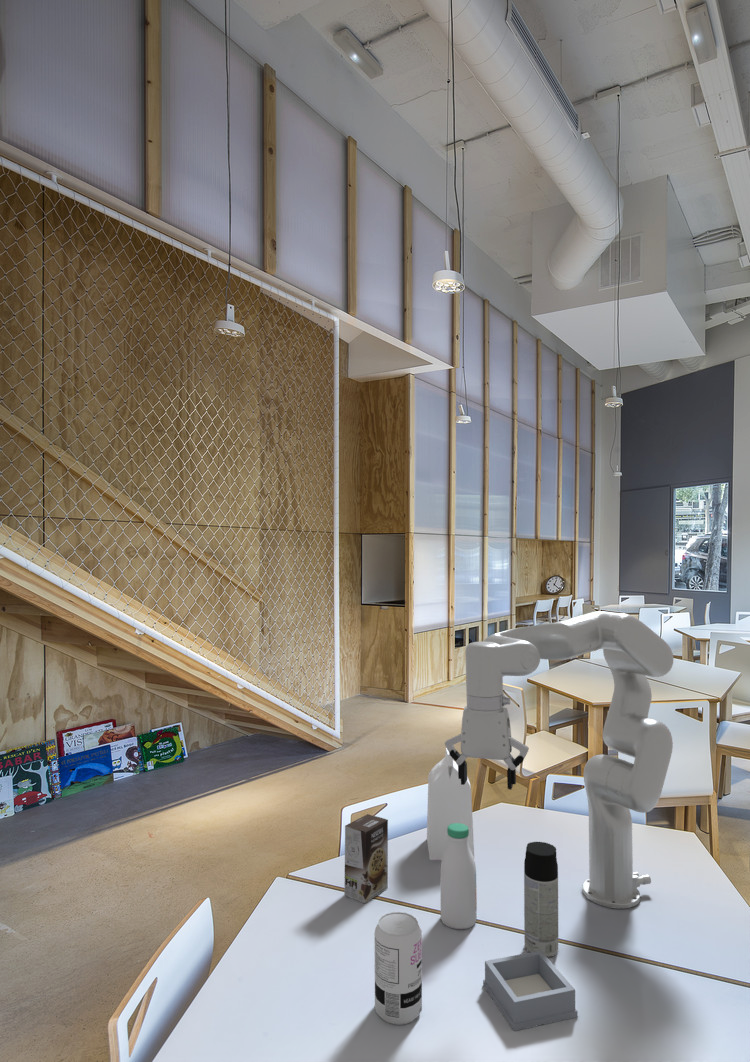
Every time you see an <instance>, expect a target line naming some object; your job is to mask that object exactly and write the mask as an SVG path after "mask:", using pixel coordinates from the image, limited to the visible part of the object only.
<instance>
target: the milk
mask: <svg viewBox="0 0 750 1062" xmlns="http://www.w3.org/2000/svg"><path fill="white" fill-rule="evenodd" d="M444 751H445V752H444V753H445V754H444V757H443V758H442V759H441V760H440V761H438V762H437V763H436V764H435V765H434V766H433V767H432V768H431V770H430V771H429V773H428V777H427V782H428V783H427V785H428V786H427V812H426V813H427V816H426V817H427V820H426V842H427V851H428V856H429V860H430V861H442V857H443V854H444V852H445V850H446V848H447V845H448V840H449V838H448V836H447V835H448V833H447V828H448V826H449V825H450V824H453V823H461V824H464V825H466V826H468V828H469V835H468V836H469V838H468V844H469V848H470V850H471V853H472V855H473V857H474V858H475V843H474V842H475V840H474V825H473V824H474V821H473V800H472V788H471V786H472V785H471V782H470V779H469V775H467V781H466V783H465V784H464V785H461V779H459V778H458V765H457V764H456V761H455V760H454V759H453V758H452V757H451V756H450V754H449V751H448V750H447V748H446V747H445V750H444Z"/></svg>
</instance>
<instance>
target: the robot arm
mask: <svg viewBox="0 0 750 1062" xmlns="http://www.w3.org/2000/svg"><path fill="white" fill-rule="evenodd" d="M598 650H602V651H603V652H602V653H603V657H604V659H605V662H606V664H607V665H608V668H609V670H610V672H611V675H612V679H613V685H614V686H613V687H614V688H613V693H612V696H611V697H612V698H611V702H610V704H609V707H608V708H609V709H608V712H607V714H606V718H605V722H604V726H603V729H602V740H603V743H604V744H605V745H606V746H607V748H609V749H611V750H613V751H615V752H617V753H620V754H623V755H626V756H628V757H632V758H634V761H633V763H632V762H630V761H627V760H625V759H622V758H619V757H616V756H612V755H610V754H603V753H602V754H596V755H593V756H592V757H590V758H589V759H588V760H587V762H586V763H585V765H584V769H583V782H584V787H585V792H586V797H587V805H588V806H587V808H588V866H589V868H588V871H589V873H588V874H589V876H588V878H587V879H586V880H584V882H583V883H582V892H583V895H584V896H585V897H586V898H587V899H588V900H590V901H591V902H593V903H595V904H597V905H600V906H603V907H606V908H612V909H629V908H633V907H636V906H637V905H638V904H639V903H640V901H641V893H640V891H639V889H638V888H640V886H642V885H643V886H644V885H645V886H646V885H649V884H650V885H651V883H652V879H651V876H650V875H649V874H643V875H639V872H638V871H633V870H634V869H633V867H634V865H633V862H634V861H633V860H634V859H633V856H634V855H633V819H632V818H633V817H632V814H631V810H632V811H634V812H637V813H642V814H643V813H645V814H646V813H649V812H651V811H652V810H653V809H655V807H657V805H658V803H659V800H660V798H661V796H662V795H661V794H662V791H663V788H664V784H665V780H666V776H667V773H668V770H669V766H670V762H671V757H672V754H673V748H674V747H673V744H674V742H673V736H672V733H671V730H670V729H669V728H668V726H667V725H666V724H665V723H663V722H662V721H660V720H658V719H654V718H651V717H649V711H650V708H651V702H652V699H653V698H652V697H653V696H652V690H651V689H652V688H651V686H650V683H649V680H648V678H647V676H648V677H652V678H660V677H663V676H666V675H667V674H668V673H670V671H671V669H672V668H673V664H674V653H673V651H672V648H671V647H670V645H669V644H668V643H667V642H666V641H665V640H664V639H663V638H662V637H661V636H659V634H658V633H656V632H655V631H653V630H652V629H651V628H650V627H649V626H648V625H646V624H645V623H644V622H642V621H641V620H639V619H638V618H637V617H635V616H633V615H631V614H628V613H620V612H614V611H603V610H602V611H601V610H597V611H590V612H587V613H584V614H581V615H577V616H574V617H569V618H567V619H563V620H560V621H556V622H548V623H542V624H541V623H540V624H536V625H534V624H533V625H528V626H522V627H517V628H516V627H515V628H511V629H507V630H503V631H500V632H496V633H493V634H491V635H489V636H487V637H485V638H484V639H483V641H474V642H470V643H468V644H467V645H466V647H465V681H466V685H465V686H466V687H465V688H466V705H465V706H464V708H463V711H462V718H461V719H462V720H461V729H460V734H458V735H455V736H453V737H451V738H449V739H447V740H445V742H444V746H445V749H446V748H447V750H448V751H449V754H450V756H451V757H452V758H453V760H454V761H455V762H456V764H457V765H458V778H459V779H461V785H464V784H465V783H466V781H467V776H468V762H467V761H466V759H467V758H471V759H473V758H474V759H484V760H485V759H486V760H494V761H495V760H496V761H497V760H498V761H503V762H504V763H505V765H506V766H507V767H508V768H507V769H506V777H507V779H506V780H507V782H506V783H507V789H508V790H510V791H511V790H513V786H514V785H516V784H517V774H516V773H517V768H518V766H520V765H521V764H522V763H523V762H524V760H525V758H526V756H527V755H528V752H529V747H528V746H527V745H525V744H524V743H522V742H521V741H519V740H517V739H516V738H513V737H512V728H511V720H510V713H509V710H508V708H507V707H505V706H507V705H508V706H509V705H511V697H507V696H505V695H504V681H503V680H504V679H503V677H505V676H506V677H508V676H509V677H513V676H514V677H525V676H528V675H530V674H532V673H535V671H537V669H538V668H539V665H540V662H541V660H549V661H550V660H551V661H562V660H570V659H574V658H577V657H579V656H583V655H585V654H589V653H591V652H595V651H598ZM458 743H460V752H461V754H460V752H459V751H458V750H457V749H456V748H455V745H456V744H458ZM513 748H514V749H516V750H518V751H519V754H518V755H517V756H516V757H514V756H513V755H512V754H511V753H512V749H513Z"/></svg>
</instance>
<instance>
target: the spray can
mask: <svg viewBox="0 0 750 1062" xmlns="http://www.w3.org/2000/svg"><path fill="white" fill-rule="evenodd" d="M525 848H526V849H525V857H524V865H523V866H524V868H523V869H524V870H523V873H524V874H523V885H524V886H523V887H524V889H523V890H524V891H523V895H524V896H523V898H524V900H523V903H524V904H523V905H524V907H523V909H524V910H523V912H524V913H523V914H524V916H523V917H524V920H523V921H524V925H523V926H524V927H523V929H524V947H525V950H526V951H527V953H530V952H536V951H542V952H543V954H544V955H545V956H546V957H547V958H553V957H554V956H555V955H557V953H558V951H559V865H558V861H557V859H558V858H557V848H556V846H555V845H553V844H550V843H548V842H545V841H544V842H543V841H532V842H531V841H530V842H528V843H527V845H526V847H525ZM552 956H553V957H552Z"/></svg>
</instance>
